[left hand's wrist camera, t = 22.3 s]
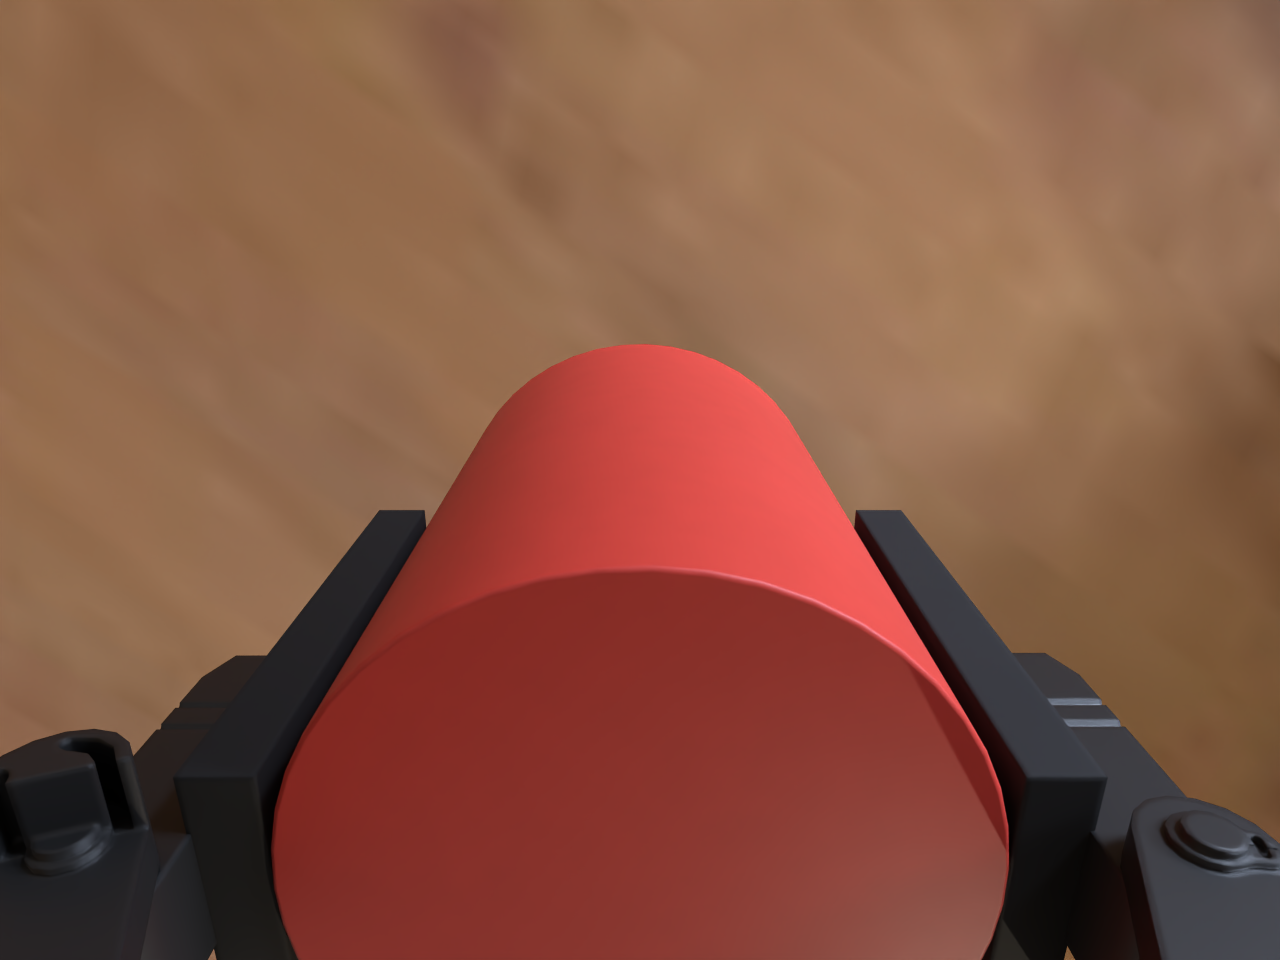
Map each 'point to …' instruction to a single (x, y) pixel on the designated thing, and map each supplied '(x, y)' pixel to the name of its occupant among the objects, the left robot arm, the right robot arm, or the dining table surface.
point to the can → (640, 710)
